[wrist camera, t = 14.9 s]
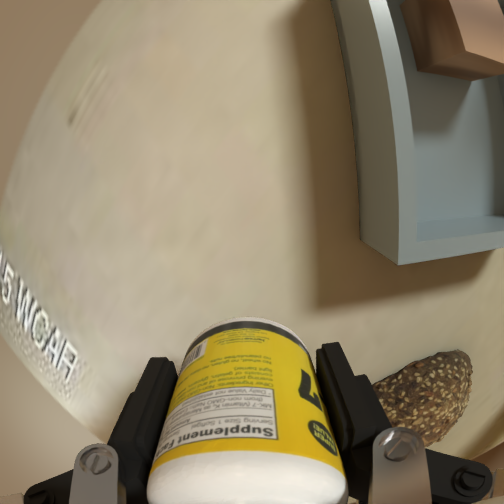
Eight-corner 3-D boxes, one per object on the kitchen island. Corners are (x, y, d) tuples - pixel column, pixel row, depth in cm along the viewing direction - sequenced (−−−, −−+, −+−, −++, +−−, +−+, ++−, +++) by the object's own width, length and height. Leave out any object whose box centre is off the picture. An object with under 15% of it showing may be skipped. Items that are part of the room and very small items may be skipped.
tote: (506, 223, 18) (549, 238, 13) (360, 239, 18) (397, 265, 13) (478, 13, 13) (514, -3, 8) (323, -26, 13) (344, -67, 8)
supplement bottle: (316, 399, 11) (361, 586, 3) (206, 416, 12) (181, 597, 4) (301, 299, 10) (387, 551, 2) (168, 324, 10) (74, 547, 2)
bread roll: (474, 336, 21) (505, 364, 16) (442, 427, 24) (460, 456, 20) (347, 370, 21) (369, 415, 16) (335, 459, 24) (346, 497, 20)
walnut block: (471, 81, 14) (520, 70, 9) (417, 71, 14) (465, 50, 9) (455, 20, 13) (496, -1, 8) (399, 5, 13) (437, -27, 8)
